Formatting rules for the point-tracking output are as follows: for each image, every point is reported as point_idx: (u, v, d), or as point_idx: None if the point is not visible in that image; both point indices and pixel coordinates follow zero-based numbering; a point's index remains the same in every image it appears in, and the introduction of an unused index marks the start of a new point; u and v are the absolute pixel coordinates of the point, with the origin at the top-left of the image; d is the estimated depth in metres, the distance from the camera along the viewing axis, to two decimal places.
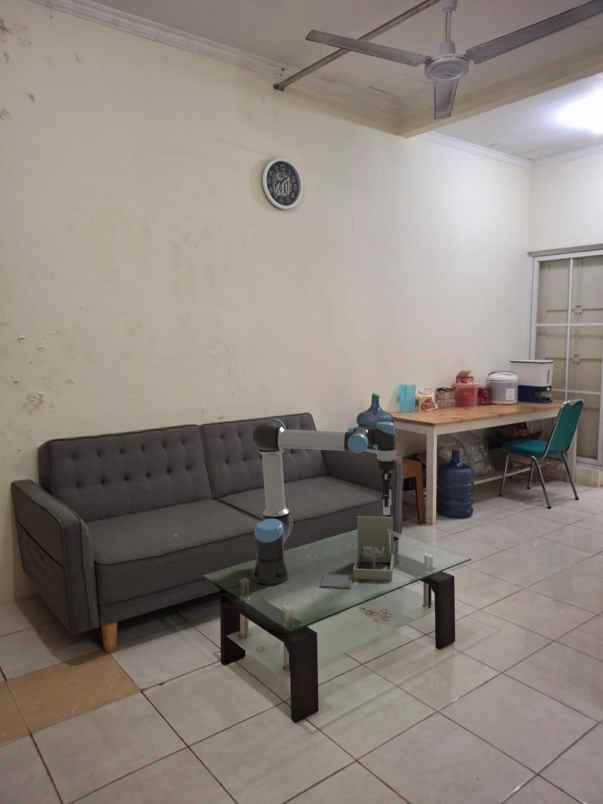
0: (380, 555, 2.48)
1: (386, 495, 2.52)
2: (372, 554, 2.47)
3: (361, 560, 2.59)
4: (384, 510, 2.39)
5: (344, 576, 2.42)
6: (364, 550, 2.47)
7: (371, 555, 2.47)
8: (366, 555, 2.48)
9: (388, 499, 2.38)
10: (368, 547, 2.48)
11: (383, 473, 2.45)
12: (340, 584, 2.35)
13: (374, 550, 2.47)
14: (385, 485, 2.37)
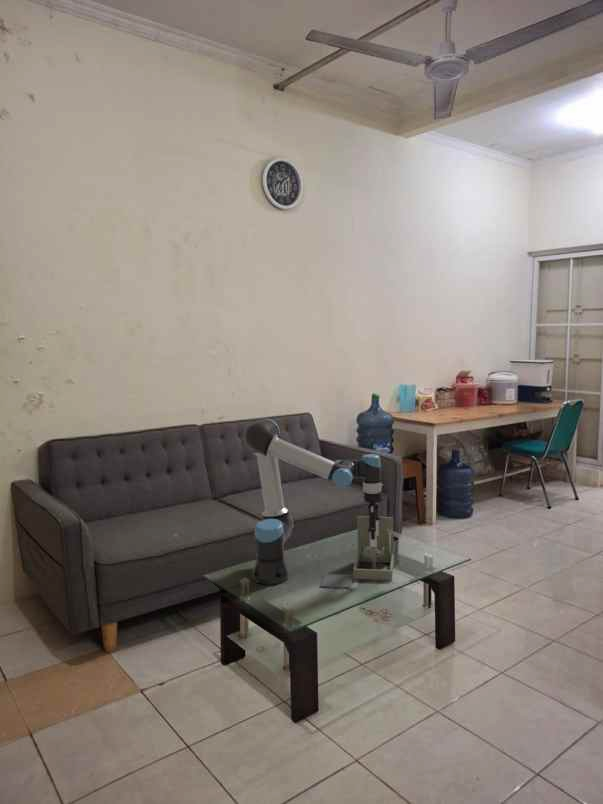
0: (380, 555, 2.48)
1: None
2: (372, 554, 2.47)
3: (361, 560, 2.59)
4: (371, 542, 2.40)
5: (344, 576, 2.42)
6: (364, 550, 2.47)
7: (371, 555, 2.47)
8: (366, 555, 2.48)
9: (375, 531, 2.40)
10: (368, 547, 2.48)
11: (370, 505, 2.47)
12: (340, 584, 2.35)
13: (374, 550, 2.47)
14: (371, 518, 2.38)
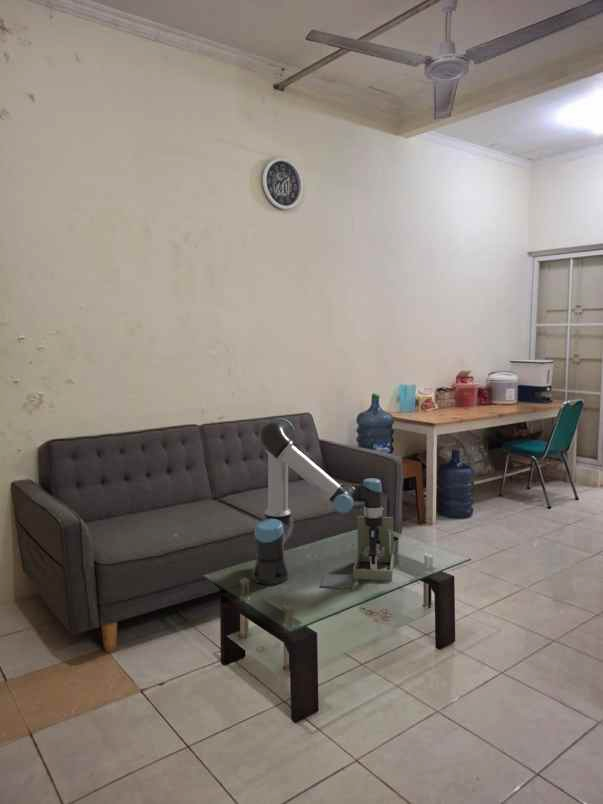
0: (380, 555, 2.48)
1: None
2: None
3: (361, 560, 2.59)
4: (371, 567, 2.41)
5: (344, 576, 2.42)
6: (364, 550, 2.47)
7: None
8: (366, 555, 2.48)
9: (375, 556, 2.41)
10: (368, 547, 2.48)
11: (370, 529, 2.48)
12: (340, 584, 2.35)
13: None
14: (372, 543, 2.39)
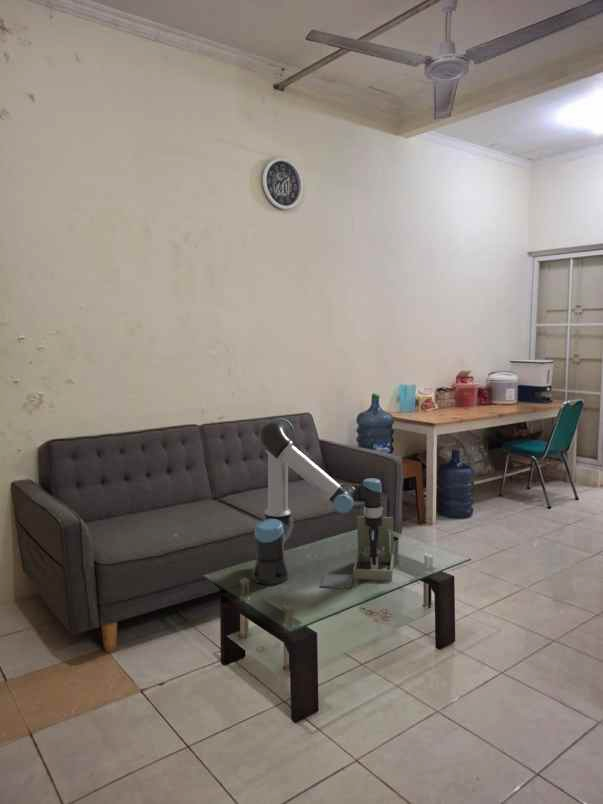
0: (380, 555, 2.48)
1: None
2: None
3: (361, 560, 2.59)
4: (372, 567, 2.47)
5: (344, 576, 2.42)
6: (364, 550, 2.48)
7: None
8: (366, 555, 2.48)
9: (376, 557, 2.46)
10: (368, 547, 2.48)
11: None
12: (340, 584, 2.35)
13: None
14: (372, 545, 2.42)
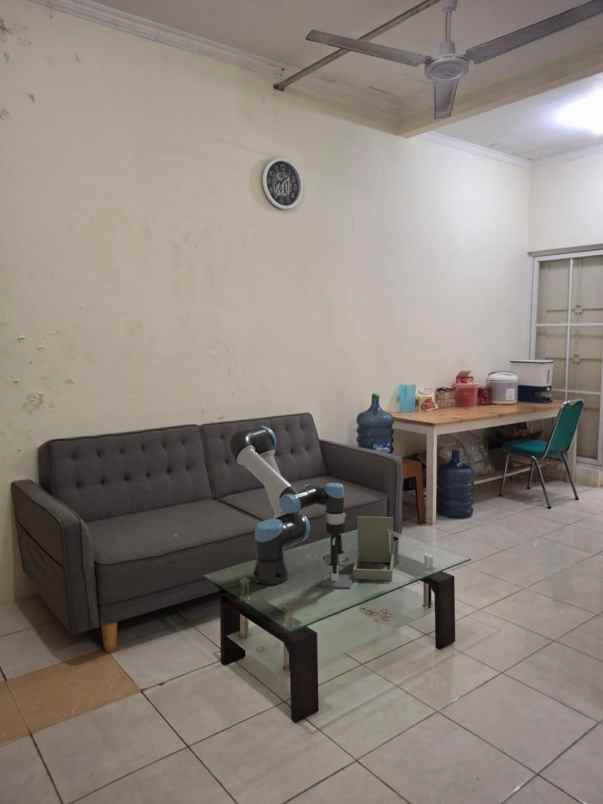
0: (342, 564, 2.38)
1: None
2: None
3: (361, 560, 2.59)
4: (332, 576, 2.32)
5: (344, 576, 2.42)
6: (326, 559, 2.37)
7: None
8: (328, 564, 2.37)
9: (336, 565, 2.32)
10: (330, 556, 2.38)
11: None
12: (340, 584, 2.35)
13: None
14: (333, 551, 2.30)
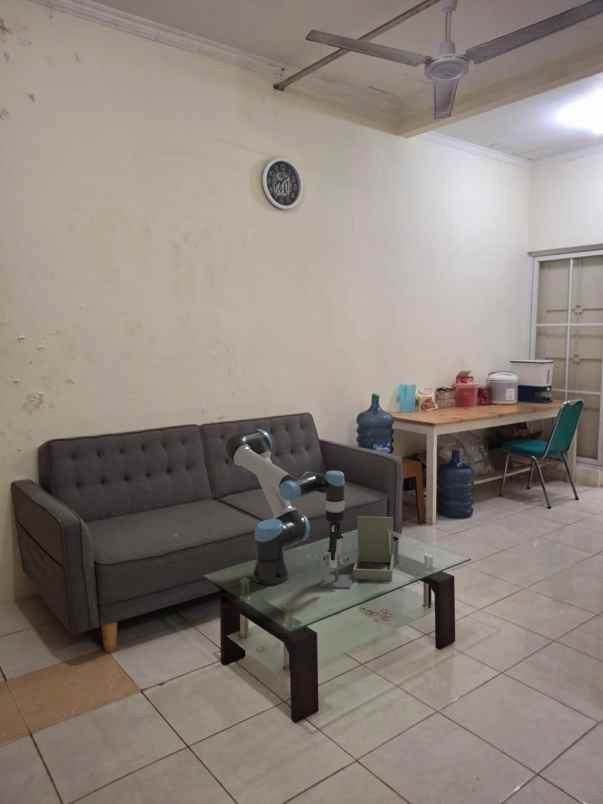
0: (342, 564, 2.38)
1: (336, 544, 2.44)
2: None
3: (361, 560, 2.59)
4: (331, 563, 2.31)
5: (344, 576, 2.42)
6: (326, 559, 2.37)
7: None
8: (328, 564, 2.37)
9: (335, 552, 2.30)
10: None
11: None
12: (340, 584, 2.35)
13: None
14: (332, 538, 2.29)
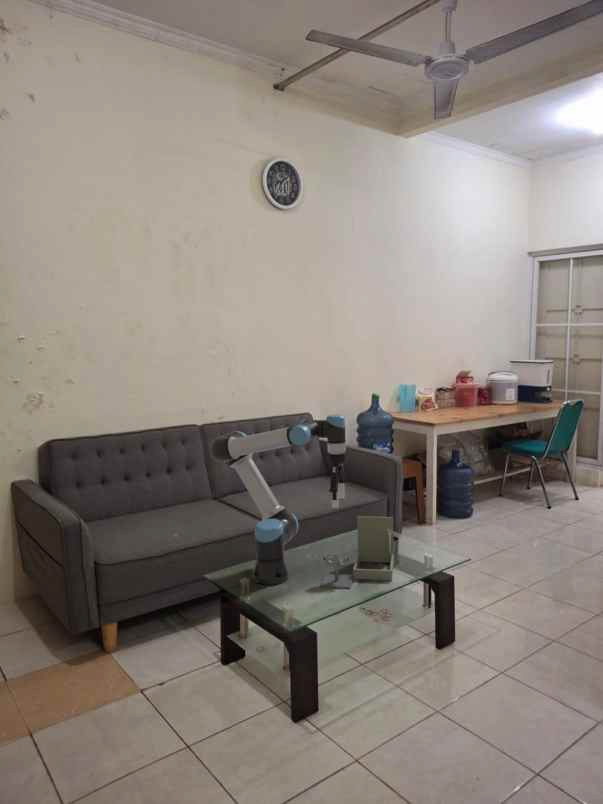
0: (343, 564, 2.37)
1: (339, 488, 2.51)
2: (334, 563, 2.37)
3: (361, 560, 2.59)
4: (332, 503, 2.38)
5: (344, 576, 2.42)
6: (326, 559, 2.37)
7: (333, 564, 2.37)
8: (328, 564, 2.37)
9: (336, 492, 2.37)
10: (330, 556, 2.38)
11: None
12: (340, 584, 2.35)
13: (336, 559, 2.36)
14: (333, 478, 2.36)
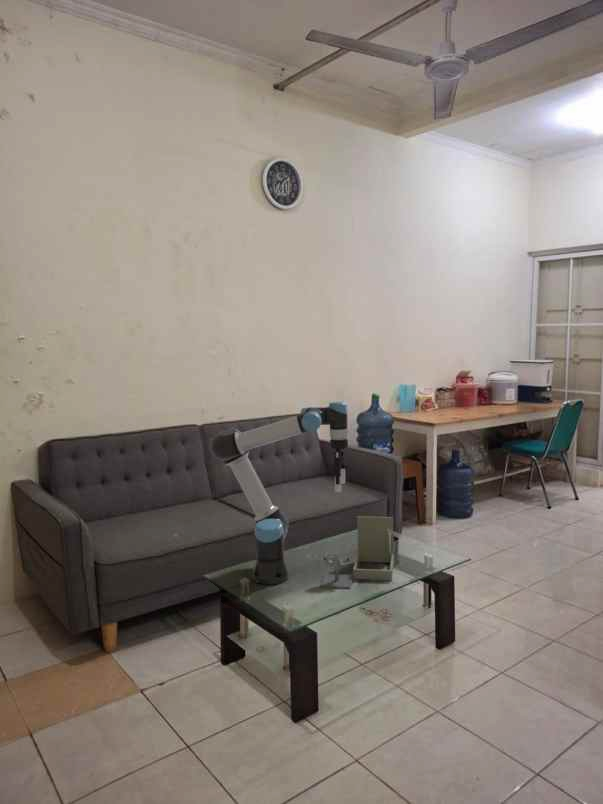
0: (343, 564, 2.37)
1: (340, 474, 2.57)
2: (334, 563, 2.37)
3: (361, 560, 2.59)
4: (336, 487, 2.44)
5: (344, 576, 2.42)
6: (326, 559, 2.37)
7: (333, 564, 2.37)
8: (328, 564, 2.37)
9: (339, 477, 2.44)
10: (330, 556, 2.38)
11: (336, 452, 2.51)
12: (340, 584, 2.35)
13: (336, 559, 2.36)
14: (336, 463, 2.42)
